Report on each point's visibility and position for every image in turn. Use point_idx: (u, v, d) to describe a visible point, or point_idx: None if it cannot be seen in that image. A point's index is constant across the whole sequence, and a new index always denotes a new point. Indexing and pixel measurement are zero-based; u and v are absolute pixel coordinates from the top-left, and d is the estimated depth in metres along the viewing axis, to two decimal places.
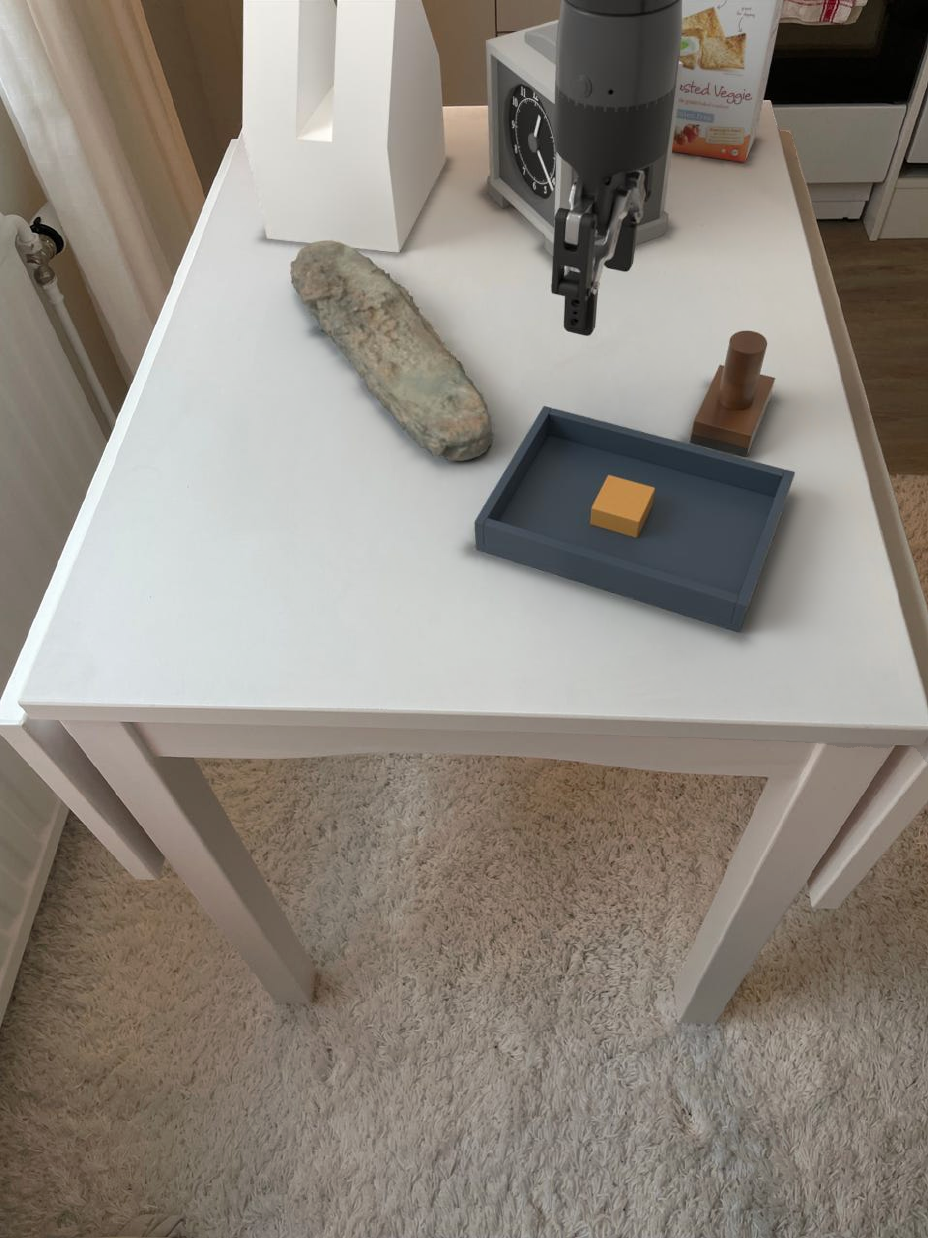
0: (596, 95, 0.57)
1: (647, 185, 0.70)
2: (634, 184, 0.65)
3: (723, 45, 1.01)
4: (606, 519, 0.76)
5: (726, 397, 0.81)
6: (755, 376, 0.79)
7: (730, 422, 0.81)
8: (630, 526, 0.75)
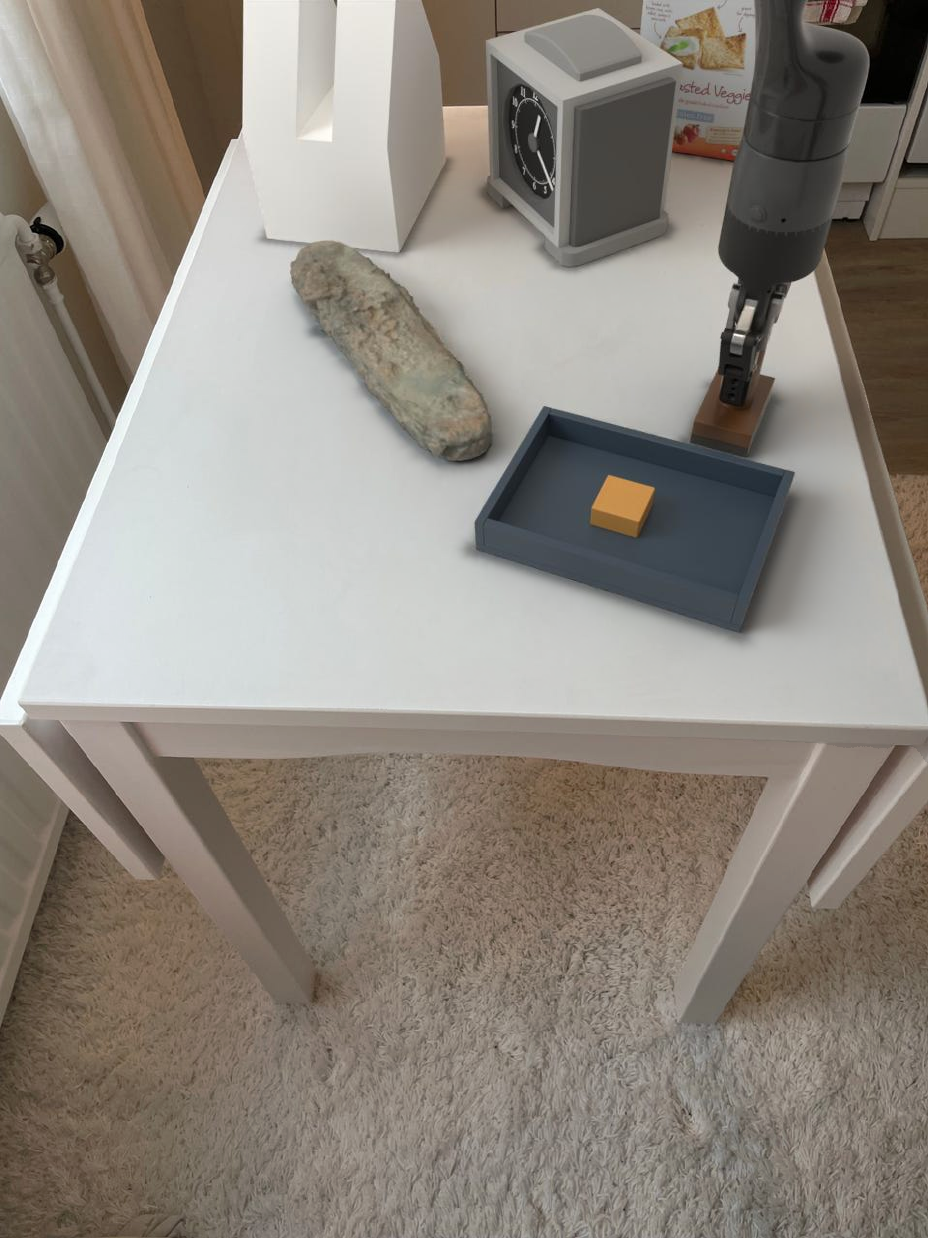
0: (770, 222, 0.66)
1: None
2: (785, 283, 0.74)
3: (723, 46, 1.01)
4: (606, 519, 0.76)
5: None
6: (755, 376, 0.79)
7: (730, 423, 0.81)
8: (630, 526, 0.75)
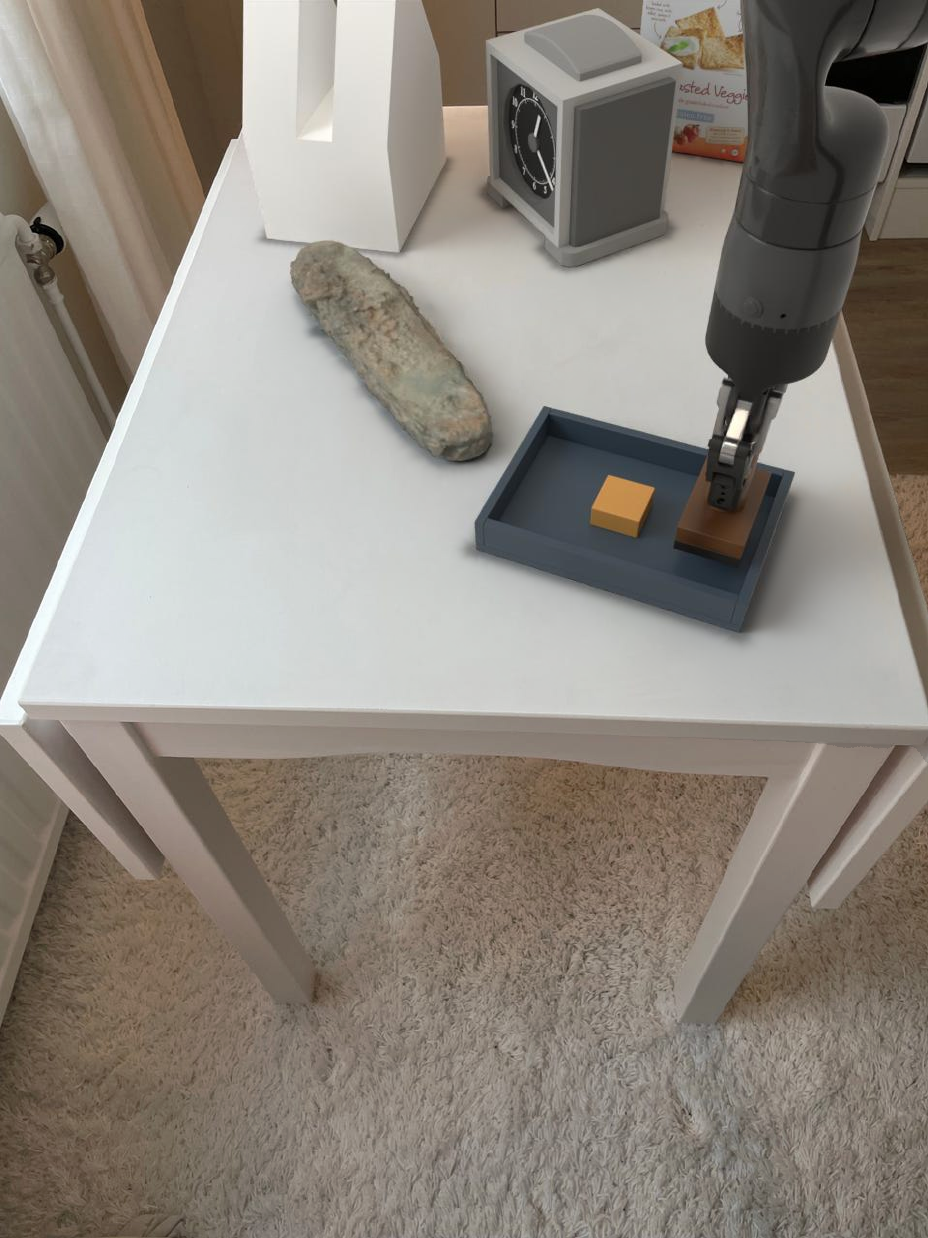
0: (767, 318, 0.54)
1: None
2: None
3: (723, 46, 1.01)
4: (606, 519, 0.76)
5: None
6: (748, 478, 0.68)
7: (719, 529, 0.70)
8: (630, 526, 0.75)
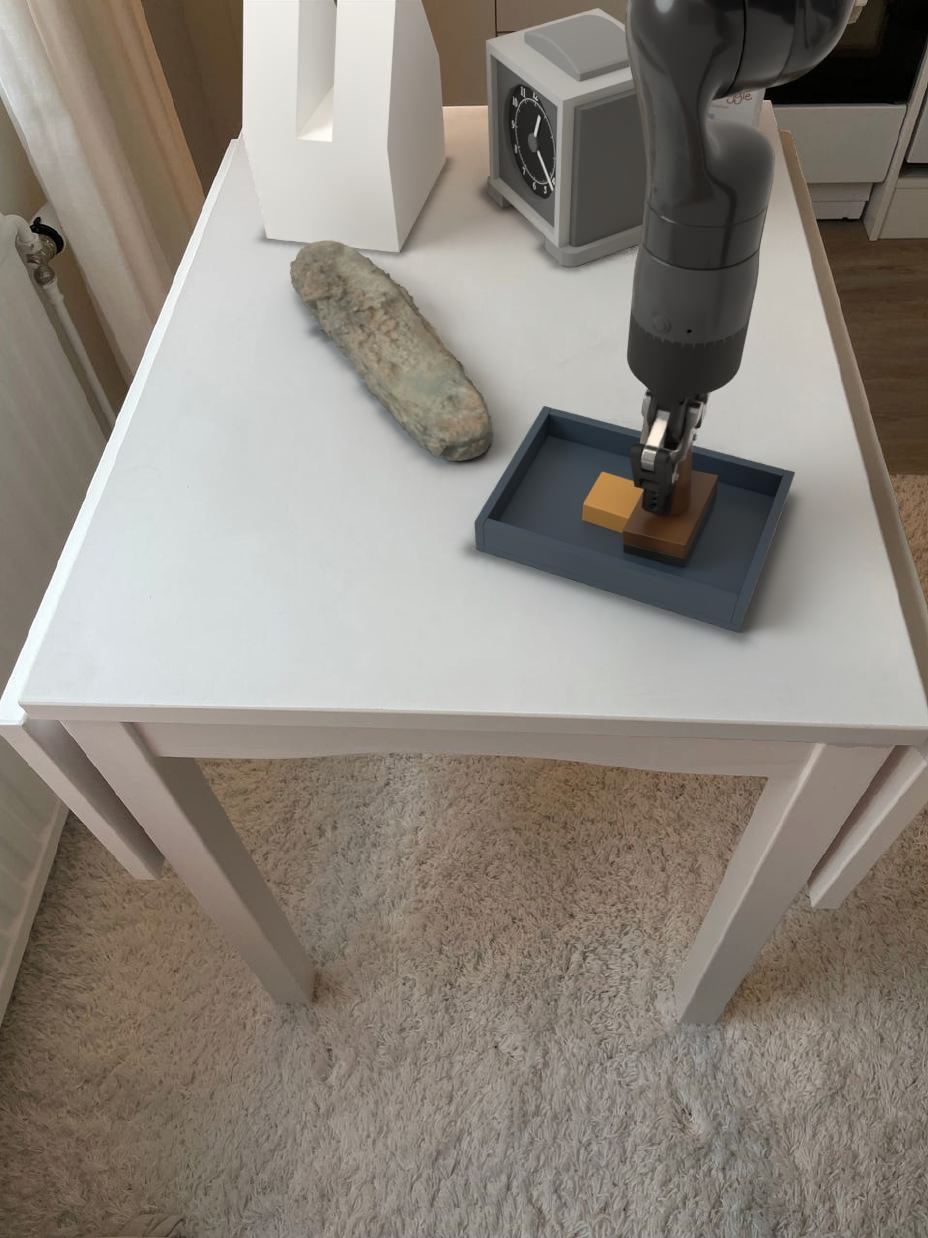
0: (674, 333, 0.58)
1: None
2: None
3: None
4: (597, 515, 0.76)
5: None
6: (684, 479, 0.71)
7: (662, 530, 0.73)
8: (621, 523, 0.76)
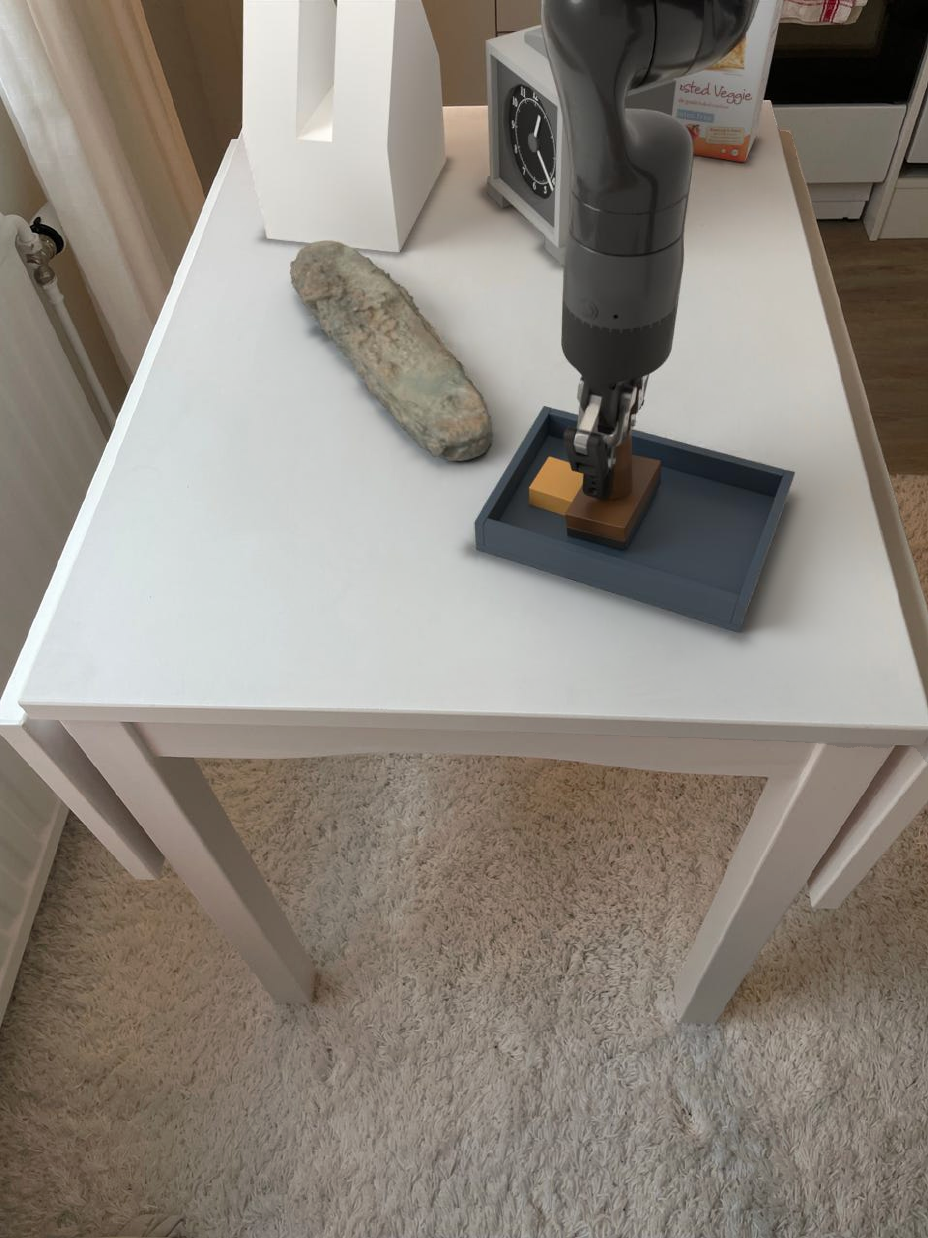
0: (602, 318, 0.60)
1: None
2: None
3: None
4: (543, 499, 0.77)
5: None
6: (624, 463, 0.72)
7: (603, 514, 0.74)
8: (566, 507, 0.77)
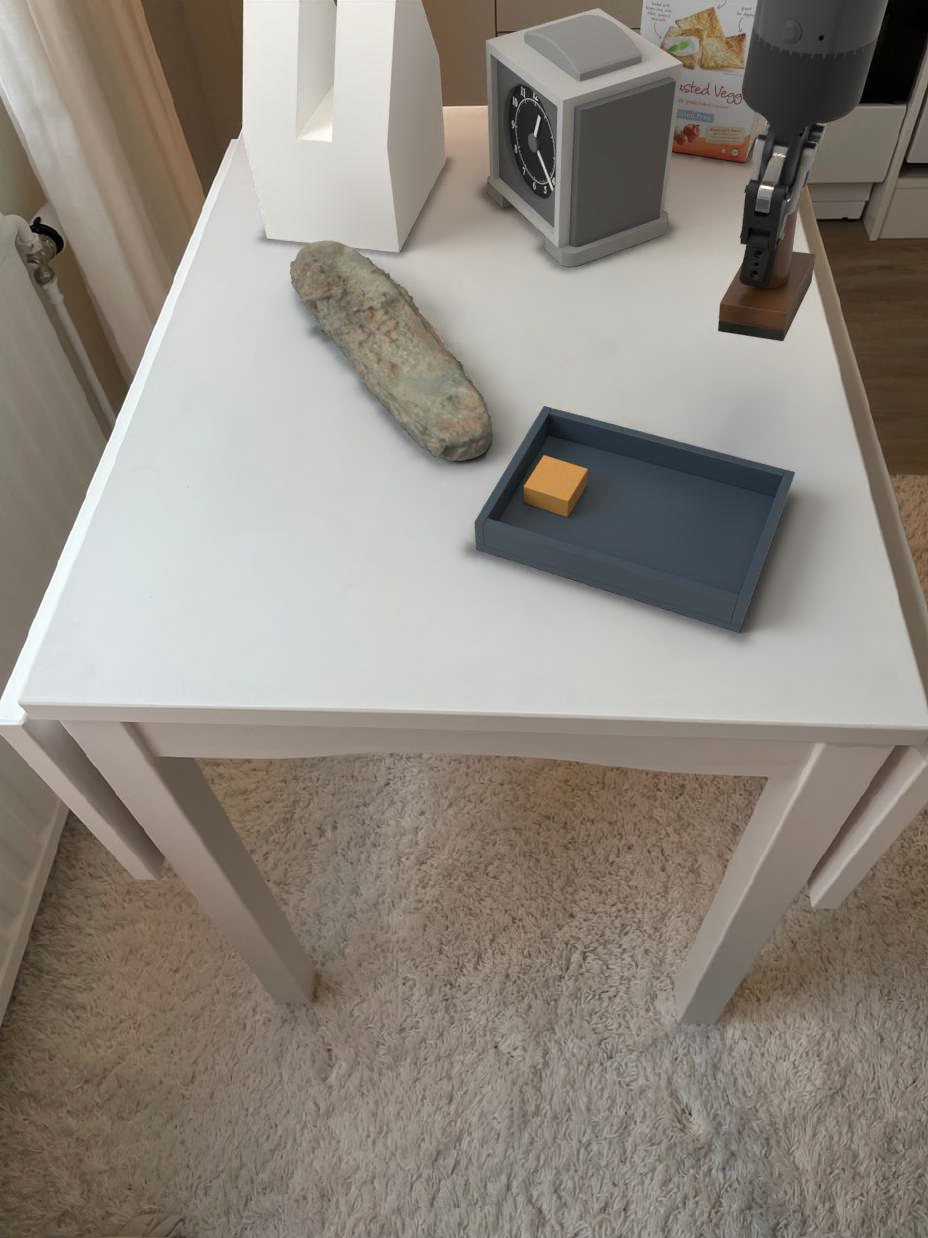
0: (805, 41, 0.56)
1: None
2: (818, 133, 0.64)
3: (723, 46, 1.01)
4: (538, 498, 0.78)
5: None
6: (787, 244, 0.69)
7: (762, 302, 0.71)
8: (561, 506, 0.77)
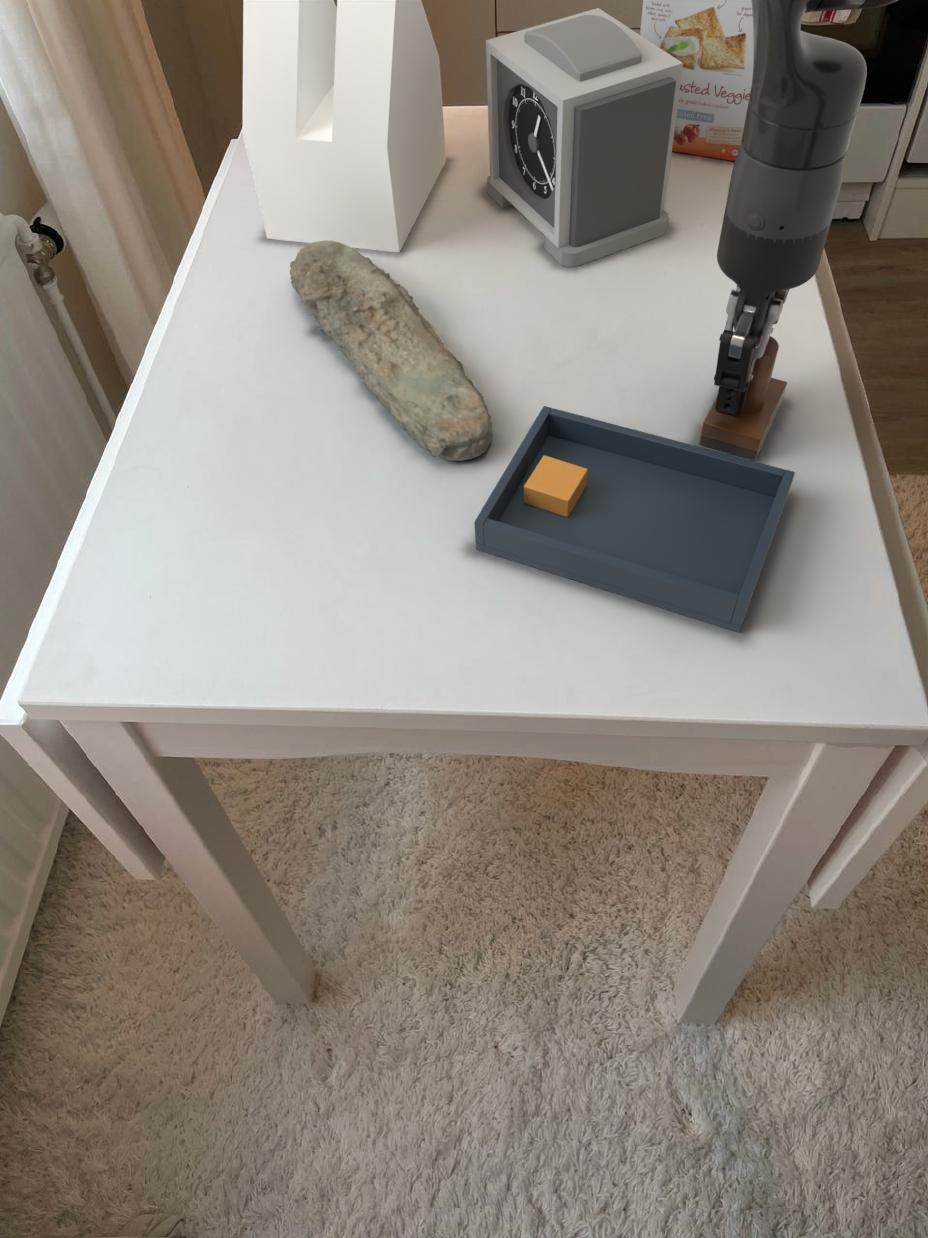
0: (768, 230, 0.66)
1: None
2: (783, 291, 0.74)
3: (723, 46, 1.01)
4: (538, 498, 0.78)
5: None
6: (766, 379, 0.79)
7: (739, 425, 0.81)
8: (561, 506, 0.77)
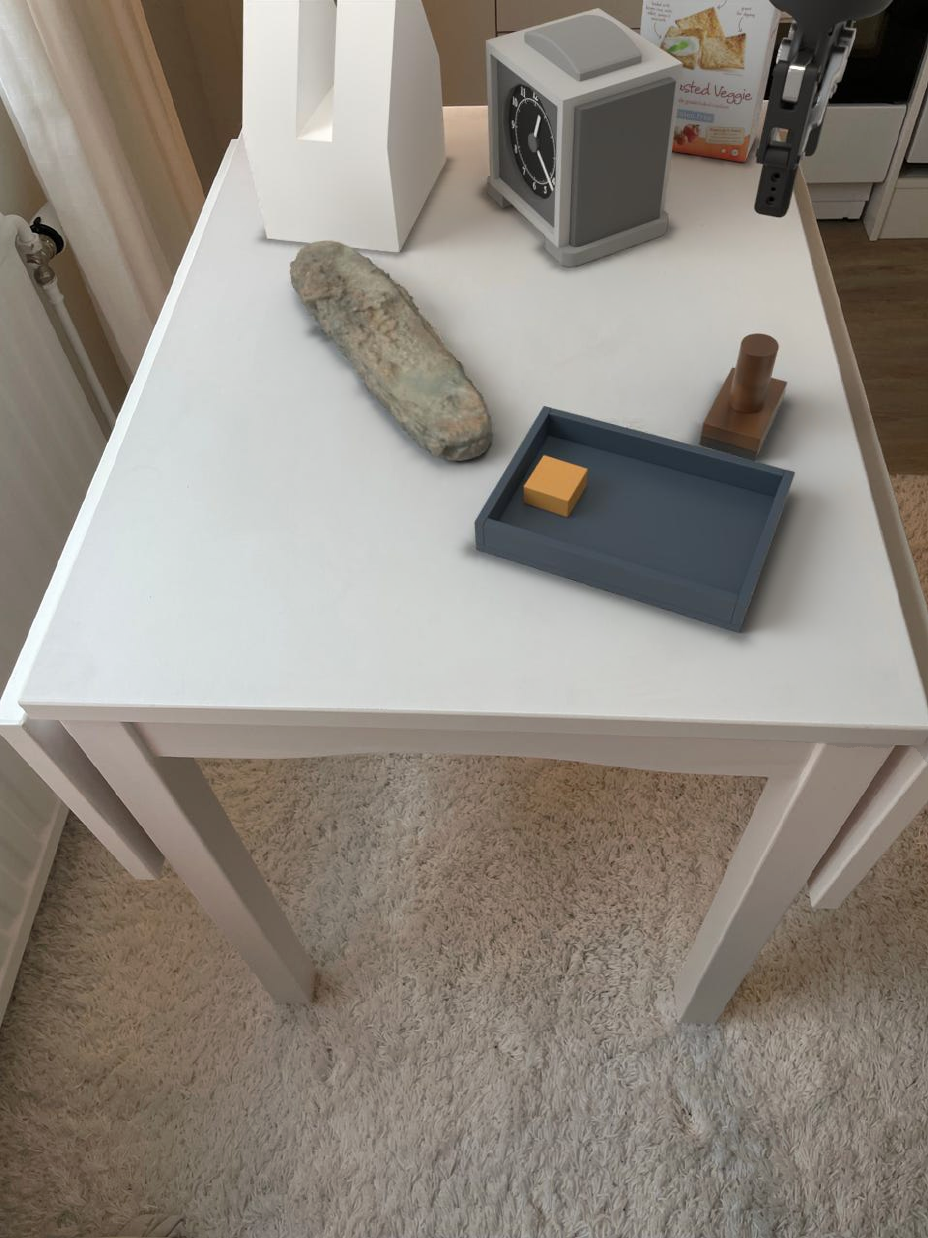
0: None
1: None
2: (846, 43, 0.60)
3: (723, 46, 1.01)
4: (538, 498, 0.78)
5: (736, 400, 0.81)
6: (766, 379, 0.79)
7: (739, 425, 0.81)
8: (561, 506, 0.77)
